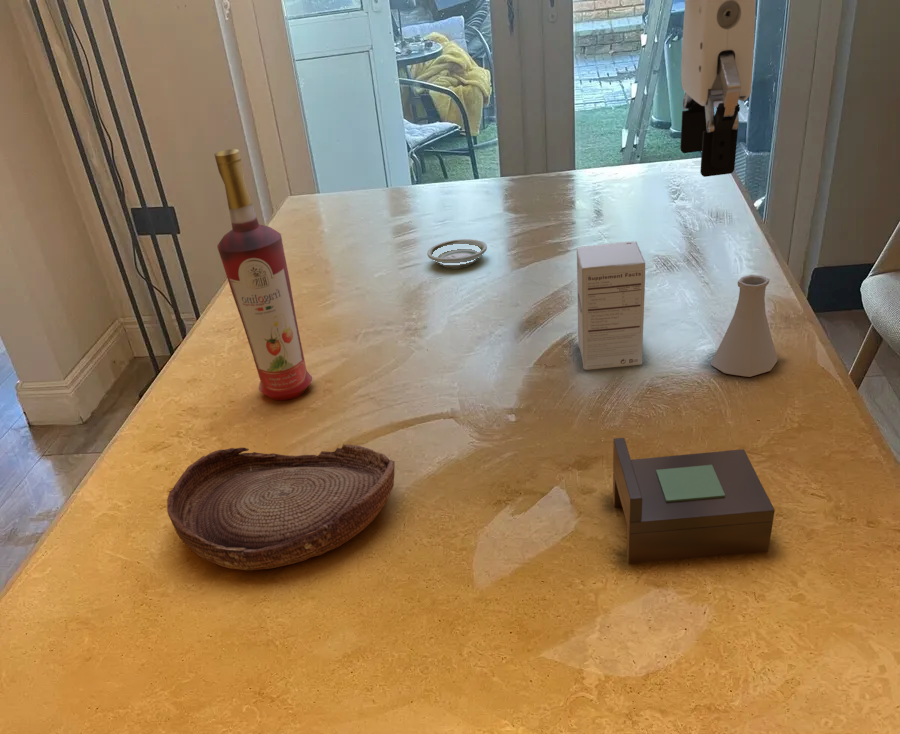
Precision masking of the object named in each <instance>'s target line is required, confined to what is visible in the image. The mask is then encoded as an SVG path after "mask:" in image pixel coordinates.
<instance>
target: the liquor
mask: <svg viewBox="0 0 900 734" xmlns="http://www.w3.org/2000/svg"><path fill="white" fill-rule="evenodd" d="M214 158H215V162H216V167H217V170H218V173H219V175H220V177H221V180H222V182H223V185H224V189H225V194H226V200H227V206H228V212H229V219H230V223H231V230H229V231H228V232H227V233H225V234H224V235H223V237H222V238H221V239H220V241H219V242H218V244H217V251H218V254H219V256H220V260H221V263H222V266H223V269H224V272H225V275H226V279H227V281H228V285H229V288H230V291H231V294H232V297H233V300H234V302H235V303H234V304H235V305H236V309H237V311H238V314H239V316H240V320H241V324H242V326H243V329H244V333H245V335H246V338H247V341H248V345H249V347H250V351H251V354H252V358H253V361H254V364H255V368H256V371H257V374H258V378H259V385H258V391H259V392H260V393H262V394H263V395H264V396H267V397H268V398H271V399H272V400H274V401H288V400H292V399H295V398H298V397H299V396H302V395H303V394H304V393H305V391H306V390H307V389H308V387H309V386H310V384H311V383H312V382H313V376H312V375H311V374H310V372H308V370H307V365H306V359H305V355H304V351H303V350H304V349H303V345H302V342H301V336H300V330H299V325H298V321H297V316H296V310H295V304H294V297H293V292H292V285H291V280H290V274H289V270H288V265H287V264H288V263H287V260H286V259H287V258H286V253H285V249H284V243H283V238H282V234H281V233H280V232H279V231H277V230H276V229H274V228H273V227H270V226H268V225H264V224H260V223H259V220H258V218H257V214H256V211H255V209H254V205H253V202H252V199H251V197H250V193H249V190H248V186H247V184H246V181H245V171H244V170H245V169H244V164H243V161H242V157H241V152H240V150H239V149H237V148H230V149H224V150H220V151H217V152H215V153H214Z"/></svg>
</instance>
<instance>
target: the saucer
mask: <svg viewBox="0 0 900 734" xmlns="http://www.w3.org/2000/svg"><path fill="white" fill-rule="evenodd" d="M453 244H469V245H475V246H478V247H479V248H480V249H481V251H480V252H477V251H475V250H472V249H457V250H451V251H447V252H444V253H442V254H440V255H439V256H438V257H434V256H432V254H433V252H434V251H435V250H437V249H438V248H441V247H443V246H447V245H453ZM487 250H488V245H487V244H486V243H485V242H483V241H481V240H477V239H471V238H468V239H467V238H464V239H463V238H461V239H452V240H447V241H443V242H440V243H438V244H435V245H433V246H431V247H430V248H429V249H428V250H427V253H426V254H427V257H428V258H429V259H430V260H432V261H433V260H435V261H437V262H442V263H460V262H467V261H471V260H474V259H477V258H478V257H480V256H481V257H483V255H484V253H485V252H487ZM482 254H483V255H482ZM481 257H480V258H481ZM478 260H479V259H477V260H475V261H473V262H469V263H466V264H460V265H442V264H439V265H440V266H443V267H444V268H446V269H453V270H455V269H456V270H457V269H462V268H463V269H464V268H466V267H470V266H471V265H473V264H474V262H476V261H478Z"/></svg>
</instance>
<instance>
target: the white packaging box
mask: <svg viewBox="0 0 900 734" xmlns="http://www.w3.org/2000/svg"><path fill="white" fill-rule="evenodd" d="M576 272H577V273H576V281H577V284H576V285H577V288H576V289H577V290H576V291H577V343H578V344H577V345H578V348H579V351H580V355H581V361H582V368H583V370H585V371H587V370H589V371H590V370H598V369H608V368H610V369H611V368H619V367H630V366H631V367H632V366H641V365H643V353H644V352H643V350H644V347H643V346H644V322H645V321H644V319H645V318H644V317H645V293H646V261H645V259H644V255H643V254H642V250H640V247H639V245H638V242H637V241H634V240H633V241H621V242H612V243H604V244H602V243H601V244H595V245H585V246H578V247H577V248H576Z"/></svg>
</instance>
